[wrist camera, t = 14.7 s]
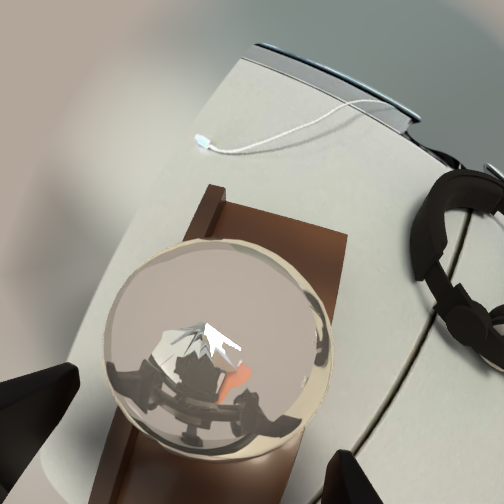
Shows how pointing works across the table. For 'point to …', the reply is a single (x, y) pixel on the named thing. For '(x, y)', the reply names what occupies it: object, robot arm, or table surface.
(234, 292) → the light bulb
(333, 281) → the brown wooden tray
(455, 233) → the table surface
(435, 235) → the headphones
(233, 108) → the table surface
